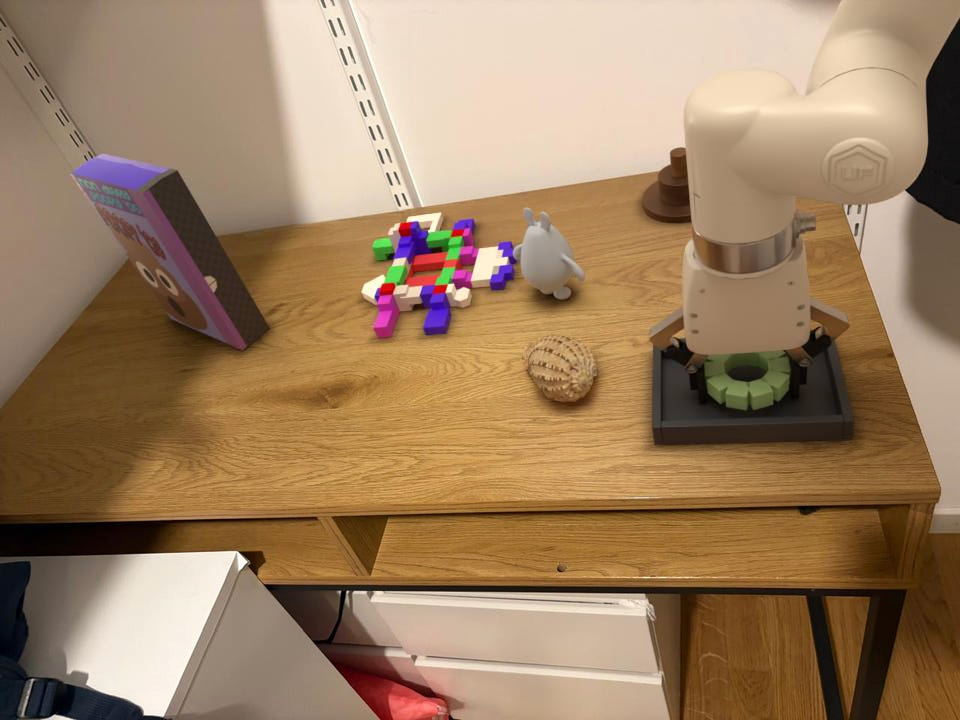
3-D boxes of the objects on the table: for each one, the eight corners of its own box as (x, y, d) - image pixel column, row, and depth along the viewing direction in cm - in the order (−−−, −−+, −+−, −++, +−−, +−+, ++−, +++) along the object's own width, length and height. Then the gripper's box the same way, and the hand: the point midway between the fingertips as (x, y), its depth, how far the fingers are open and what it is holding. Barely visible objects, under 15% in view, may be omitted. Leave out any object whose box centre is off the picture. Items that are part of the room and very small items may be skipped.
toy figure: (606, 291, 86) (591, 204, 78) (574, 323, 84) (555, 236, 76) (537, 268, 93) (517, 185, 85) (505, 297, 90) (481, 214, 82)
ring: (784, 349, 70) (785, 335, 69) (794, 408, 65) (795, 394, 64) (703, 354, 73) (702, 341, 71) (706, 412, 67) (705, 398, 66)
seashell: (520, 409, 80) (582, 414, 72) (491, 366, 78) (551, 365, 70) (563, 364, 83) (627, 363, 75) (536, 322, 81) (598, 316, 73)
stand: (721, 174, 98) (719, 125, 93) (725, 217, 91) (724, 167, 86) (643, 184, 101) (638, 137, 96) (642, 227, 94) (636, 178, 89)
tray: (830, 347, 72) (832, 328, 70) (851, 440, 64) (854, 421, 62) (655, 357, 77) (652, 339, 75) (654, 445, 69) (651, 427, 67)
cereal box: (171, 319, 106) (68, 172, 90) (197, 299, 108) (101, 151, 92) (243, 351, 96) (141, 191, 80) (269, 328, 98) (176, 168, 82)
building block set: (502, 328, 86) (493, 298, 83) (343, 341, 92) (329, 314, 89) (527, 208, 104) (520, 180, 101) (392, 225, 109) (381, 199, 106)
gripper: (856, 194, 58) (841, 355, 70) (631, 221, 63) (652, 367, 75) (875, 251, 53) (856, 416, 64) (628, 275, 58) (651, 423, 70)
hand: (746, 388), depth 70 cm, fingers closed on ring, 7 cm apart
